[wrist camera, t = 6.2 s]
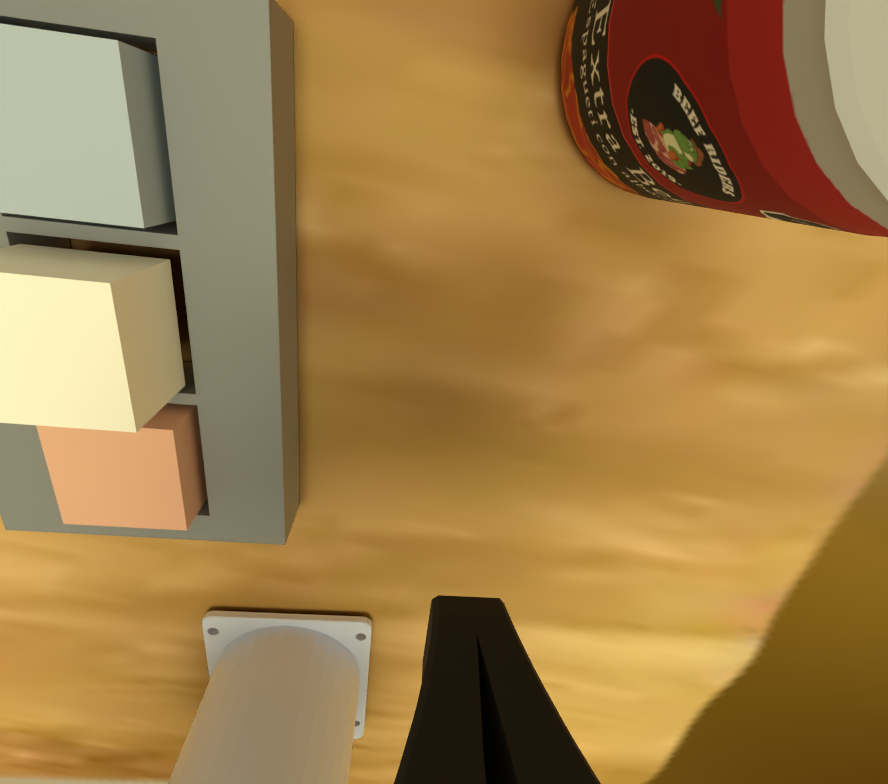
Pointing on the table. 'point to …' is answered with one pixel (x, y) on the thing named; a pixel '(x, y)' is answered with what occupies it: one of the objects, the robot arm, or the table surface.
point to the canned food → (736, 104)
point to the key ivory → (86, 338)
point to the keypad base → (202, 255)
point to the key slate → (82, 130)
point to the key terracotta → (129, 472)
